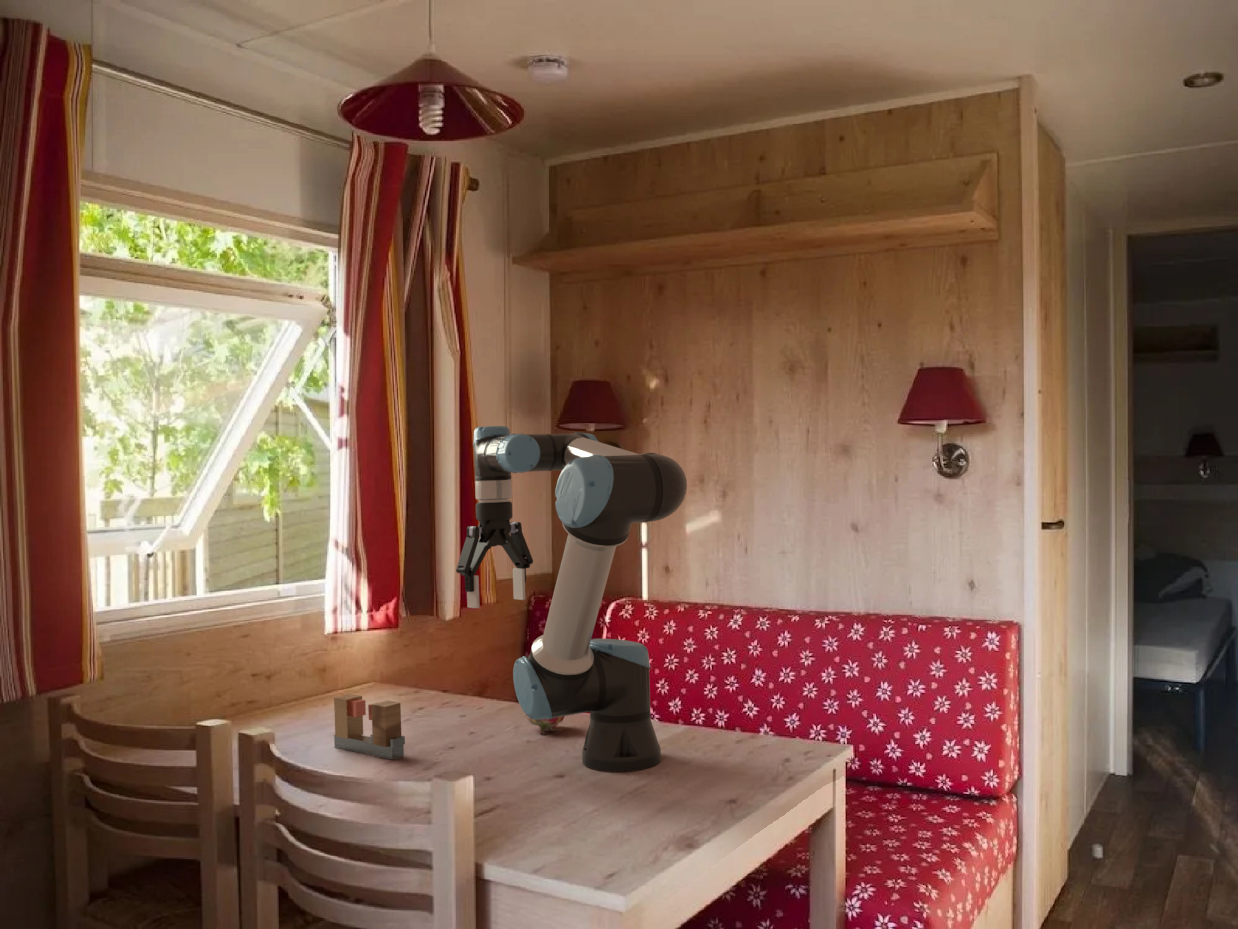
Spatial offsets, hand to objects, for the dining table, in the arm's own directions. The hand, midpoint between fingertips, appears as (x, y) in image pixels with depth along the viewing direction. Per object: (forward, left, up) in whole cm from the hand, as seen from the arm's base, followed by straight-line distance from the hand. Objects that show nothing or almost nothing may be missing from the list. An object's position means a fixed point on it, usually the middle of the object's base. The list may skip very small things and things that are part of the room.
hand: (497, 603), depth 229 cm
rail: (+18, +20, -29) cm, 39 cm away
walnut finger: (+12, +20, -26) cm, 35 cm away
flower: (-2, -12, -29) cm, 31 cm away
